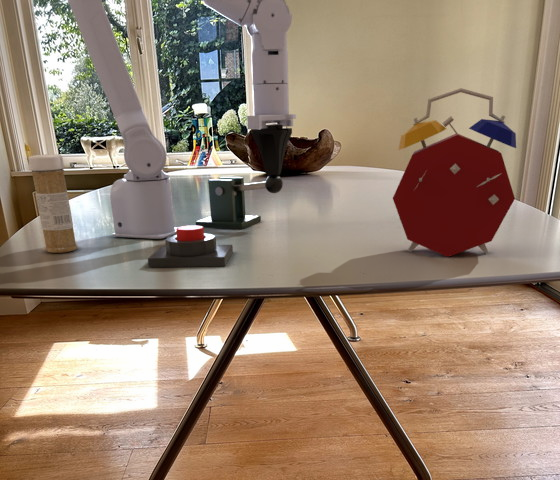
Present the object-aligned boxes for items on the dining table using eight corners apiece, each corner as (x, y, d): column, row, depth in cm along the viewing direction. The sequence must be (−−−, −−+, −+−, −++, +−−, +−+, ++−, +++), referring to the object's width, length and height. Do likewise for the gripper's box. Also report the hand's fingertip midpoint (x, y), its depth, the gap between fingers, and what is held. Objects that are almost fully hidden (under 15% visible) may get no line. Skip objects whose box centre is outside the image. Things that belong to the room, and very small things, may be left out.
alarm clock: (503, 248, 81) (522, 86, 73) (509, 263, 74) (532, 84, 66) (393, 246, 85) (400, 91, 77) (388, 259, 77) (396, 89, 69)
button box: (148, 267, 77) (145, 244, 76) (162, 254, 85) (160, 232, 83) (225, 266, 77) (223, 243, 75) (232, 253, 84) (231, 231, 83)
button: (174, 243, 78) (173, 230, 77) (180, 238, 81) (179, 225, 81) (201, 243, 78) (200, 229, 77) (206, 238, 81) (205, 224, 80)
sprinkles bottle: (75, 246, 92) (59, 153, 86) (79, 251, 88) (64, 154, 83) (43, 249, 90) (26, 155, 85) (47, 255, 86) (29, 156, 81)
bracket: (261, 221, 108) (259, 176, 105) (242, 229, 101) (239, 181, 98) (216, 219, 111) (213, 176, 108) (195, 227, 104) (191, 180, 101)
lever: (286, 191, 101) (284, 172, 100) (279, 193, 99) (277, 174, 98) (225, 197, 106) (222, 180, 105) (217, 200, 104) (214, 182, 103)
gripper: (276, 82, 87) (279, 179, 92) (309, 84, 99) (310, 170, 104) (232, 84, 89) (238, 179, 95) (270, 86, 101) (273, 170, 107)
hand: (273, 174), depth 100 cm, fingers closed
